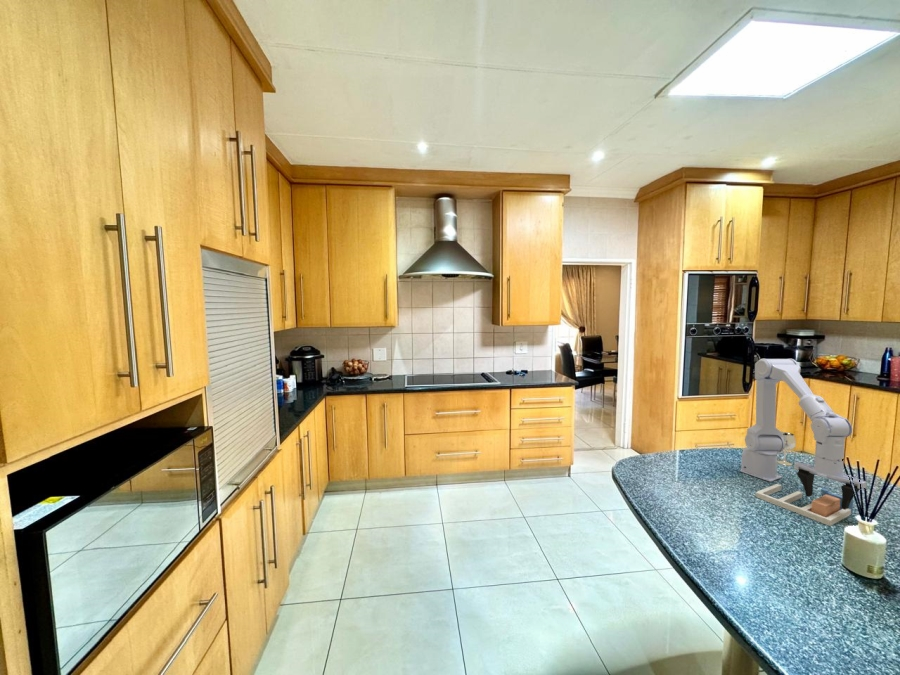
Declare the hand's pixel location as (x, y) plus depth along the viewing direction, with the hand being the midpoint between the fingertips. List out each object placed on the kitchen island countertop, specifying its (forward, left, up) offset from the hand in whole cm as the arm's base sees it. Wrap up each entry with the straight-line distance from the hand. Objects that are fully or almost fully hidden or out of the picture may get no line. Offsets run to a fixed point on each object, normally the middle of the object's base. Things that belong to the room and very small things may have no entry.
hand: (826, 501), depth 104 cm
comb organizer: (-5, 0, -4) cm, 7 cm away
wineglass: (-23, +33, -4) cm, 40 cm away
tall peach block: (0, 0, -4) cm, 4 cm away
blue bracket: (0, +7, -4) cm, 8 cm away
